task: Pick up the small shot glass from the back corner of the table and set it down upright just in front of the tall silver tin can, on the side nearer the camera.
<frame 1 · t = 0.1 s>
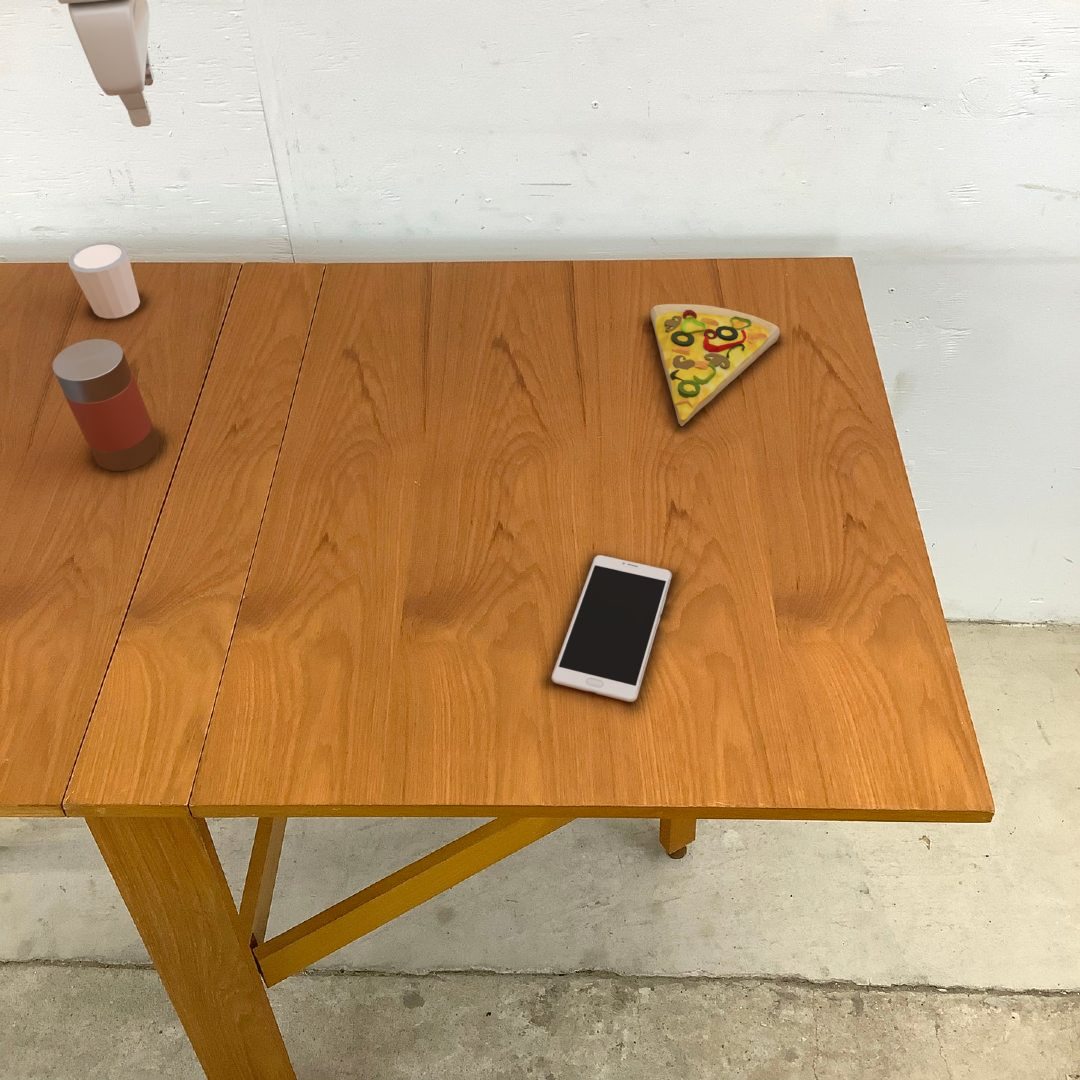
hand: (144, 102, 98), 28 cm above the table, tool pointing down, fingers open, 8 cm apart
smartphone: (614, 628, 88), on the table
tin can: (127, 450, 104), on the table
pizza slice: (698, 372, 112), on the table
shot glass: (117, 306, 123), on the table
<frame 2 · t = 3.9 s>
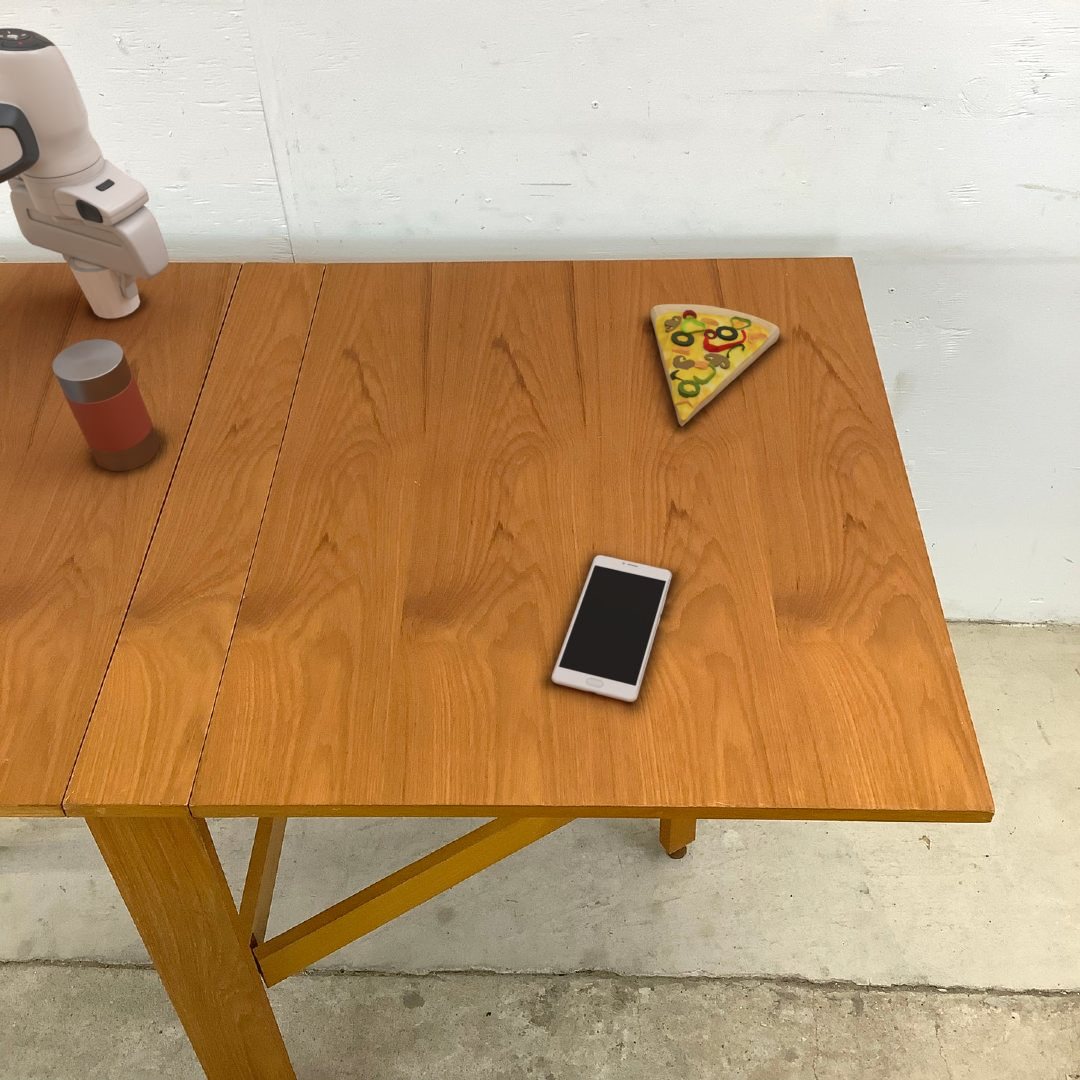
hand: (110, 289, 121), 2 cm above the table, tool pointing down, fingers closed on shot glass, 5 cm apart
shot glass: (117, 306, 123), on the table, touching gripper
everything else where it was.
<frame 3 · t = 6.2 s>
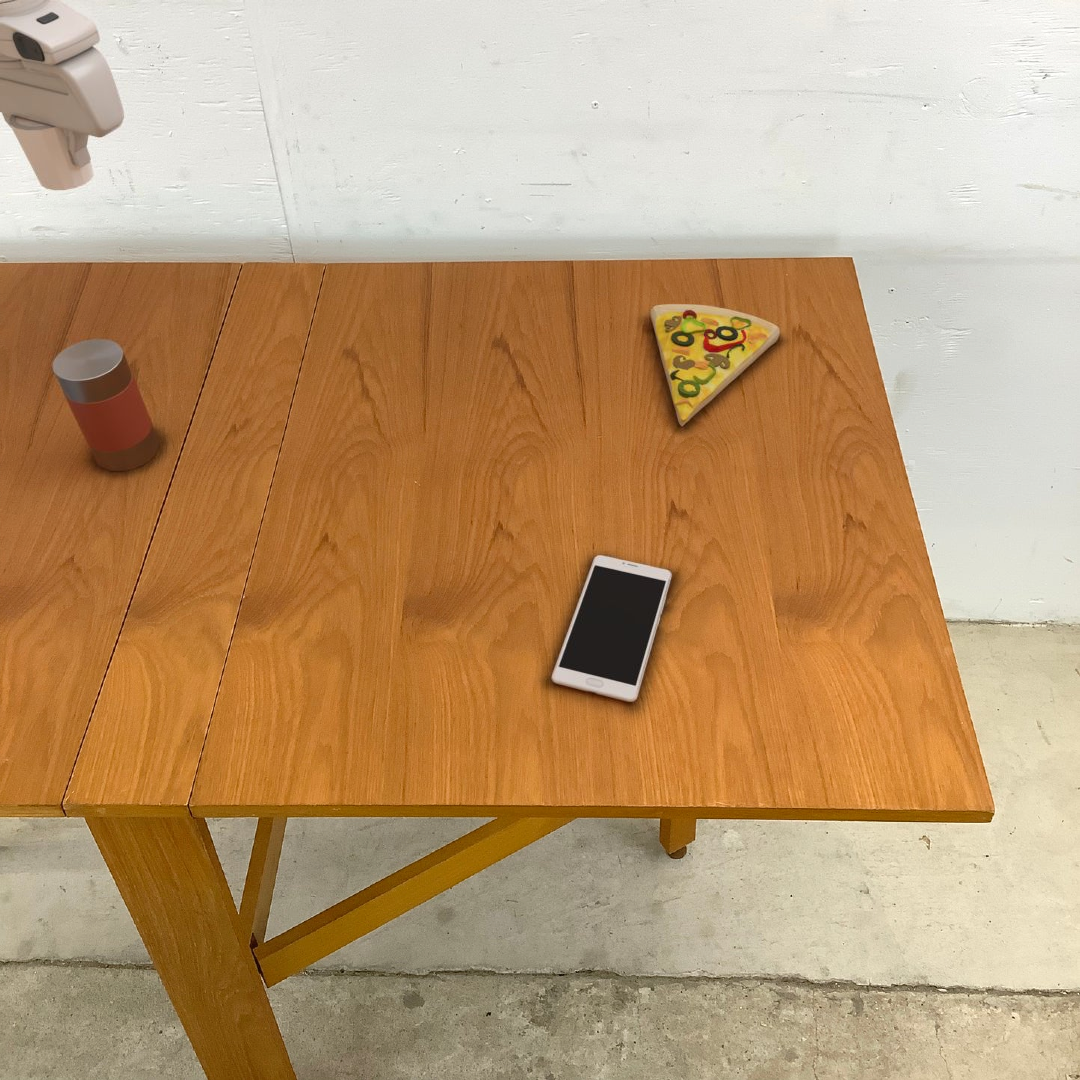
hand: (59, 157, 106), 20 cm above the table, tool pointing down, fingers closed on shot glass, 5 cm apart
shot glass: (67, 179, 108), point 18 cm above the table, touching gripper
everything else where it was.
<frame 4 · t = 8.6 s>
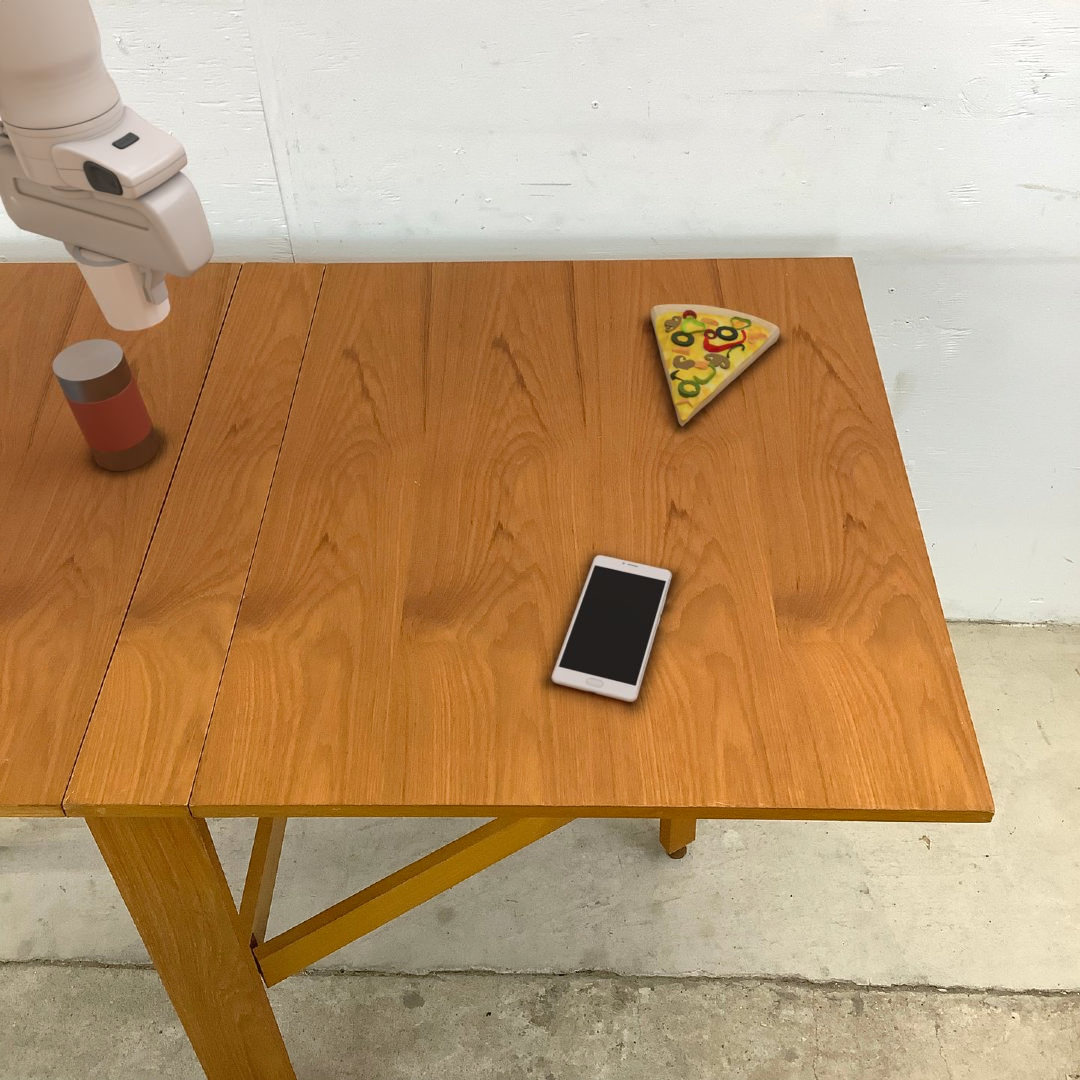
hand: (130, 291, 88), 21 cm above the table, tool pointing down, fingers closed on shot glass, 5 cm apart
shot glass: (139, 314, 90), point 18 cm above the table, touching gripper
everything else where it was.
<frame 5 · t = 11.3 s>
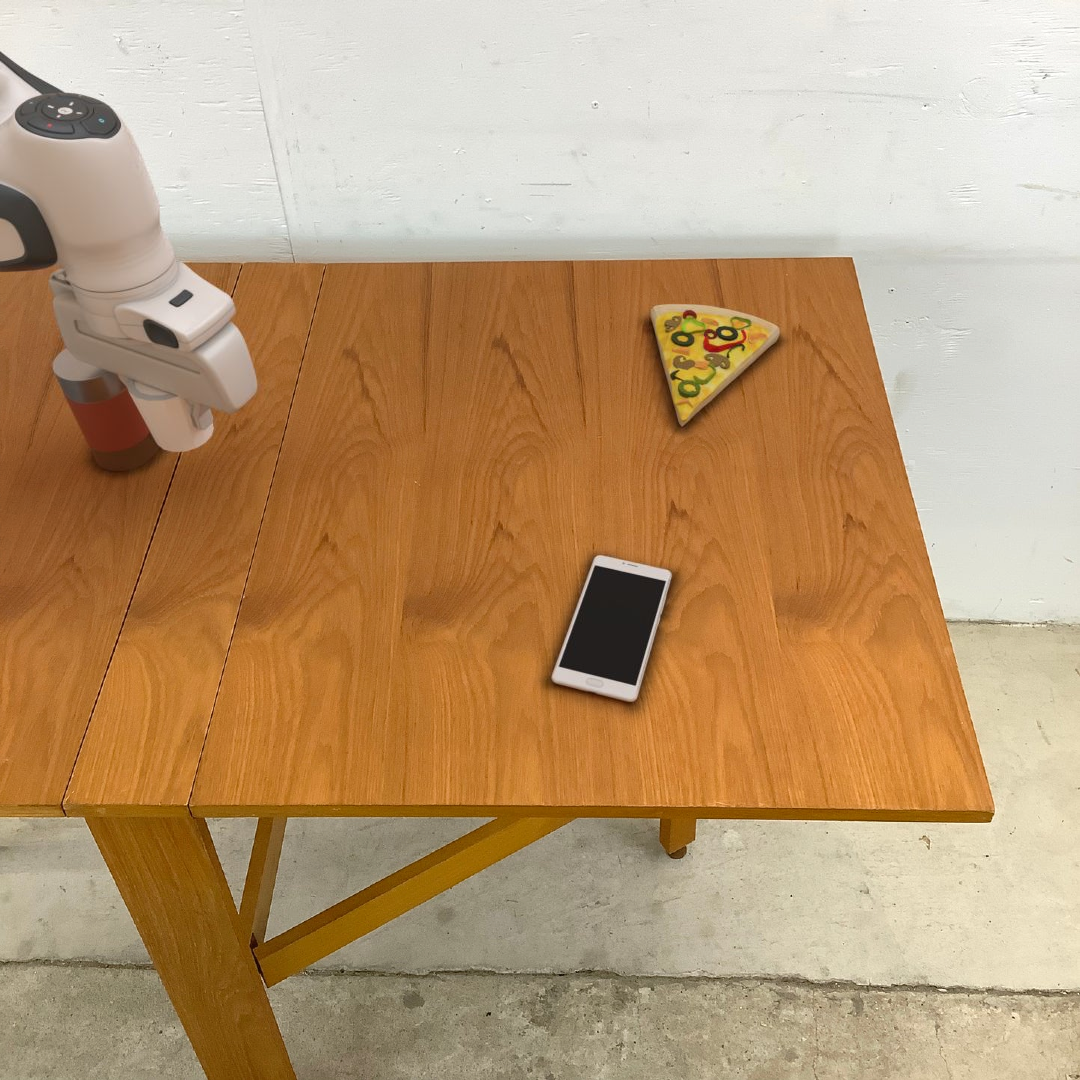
hand: (177, 415, 95), 8 cm above the table, tool pointing down, fingers closed on shot glass, 5 cm apart
shot glass: (185, 434, 97), point 6 cm above the table, touching gripper
everything else where it was.
when the fingers open (2 cm above the table, at t = 13.2 s): shot glass stays where it is, on the table.
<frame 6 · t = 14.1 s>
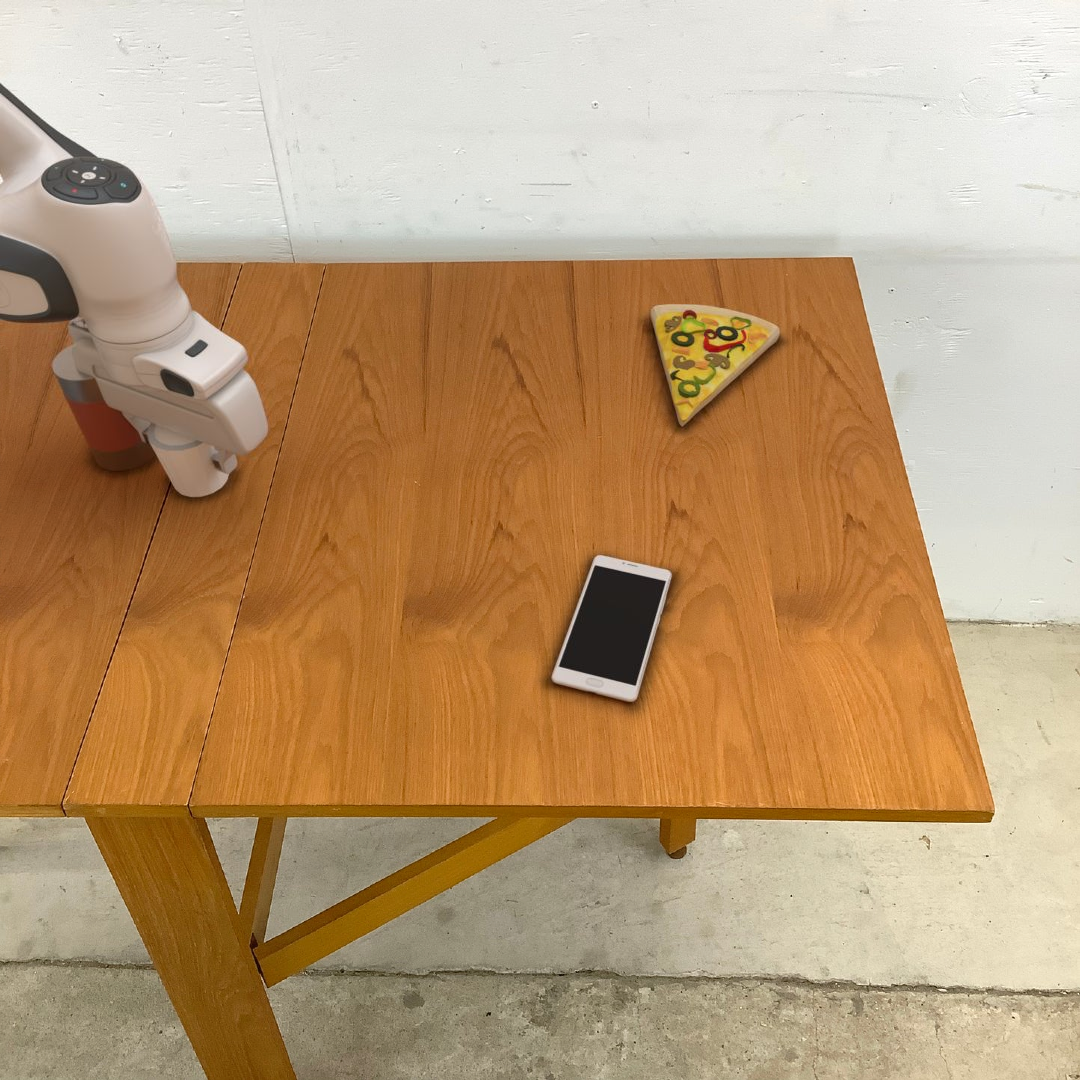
hand: (190, 454, 99), 3 cm above the table, tool pointing down, fingers open, 8 cm apart
shot glass: (201, 479, 102), on the table
everything else where it was.
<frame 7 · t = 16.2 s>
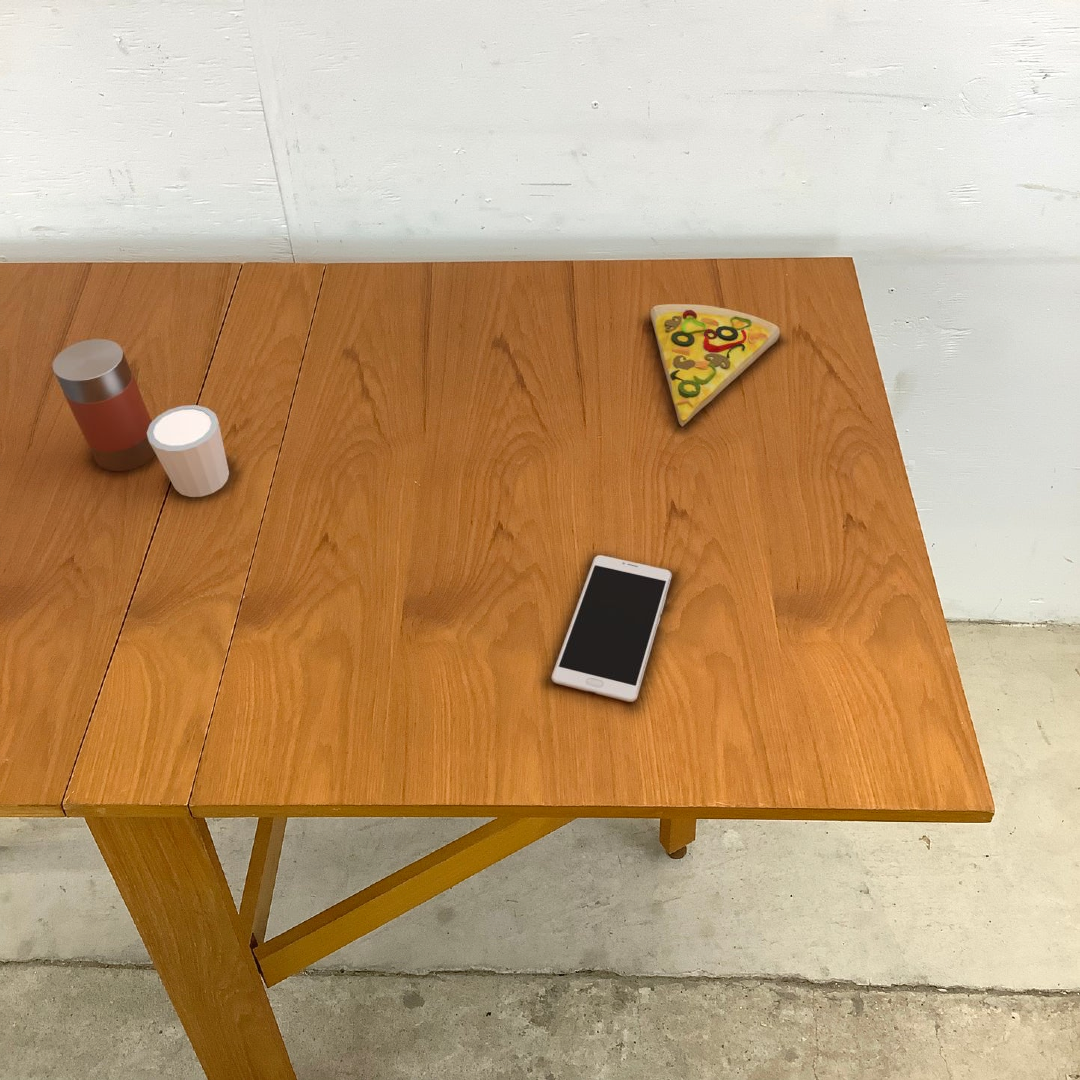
nothing on the table moved.
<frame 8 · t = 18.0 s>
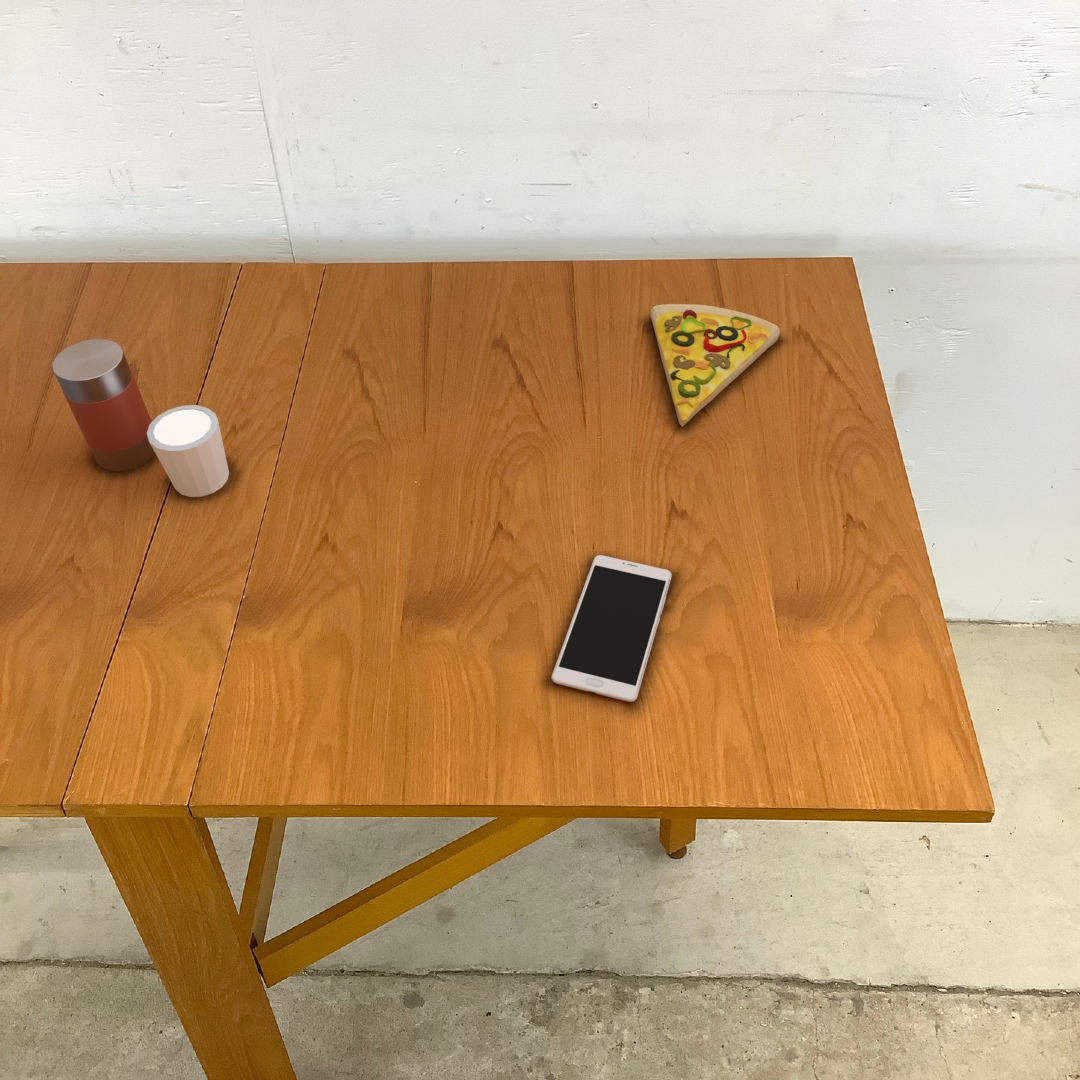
nothing on the table moved.
at the end: shot glass inside the target area on the table beside the tin can (0.1 cm from its centre), on the table; shot glass tilted 0°; tin can moved 0.0 cm from its start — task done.
